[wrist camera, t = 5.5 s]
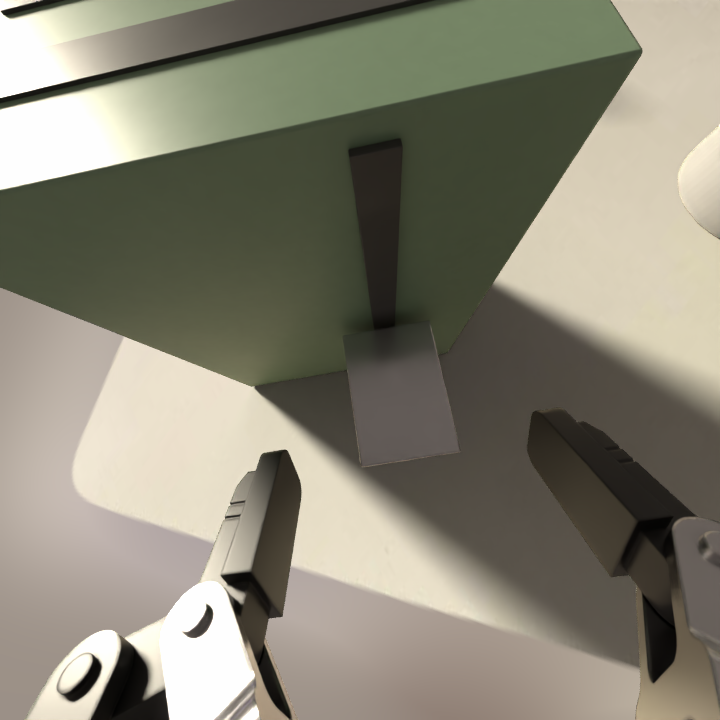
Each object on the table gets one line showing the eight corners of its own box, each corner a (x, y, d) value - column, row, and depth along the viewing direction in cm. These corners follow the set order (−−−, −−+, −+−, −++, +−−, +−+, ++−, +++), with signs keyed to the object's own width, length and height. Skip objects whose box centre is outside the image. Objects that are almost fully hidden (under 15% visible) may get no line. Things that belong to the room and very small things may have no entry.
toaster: (251, 389, 19) (-169, 233, 5) (245, 276, 22) (-45, -56, 7) (448, 355, 19) (657, 53, 4) (420, 242, 21) (488, -201, 6)
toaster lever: (365, 463, 12) (360, 467, 10) (348, 350, 13) (341, 334, 12) (450, 450, 12) (461, 452, 10) (424, 336, 13) (430, 319, 11)
